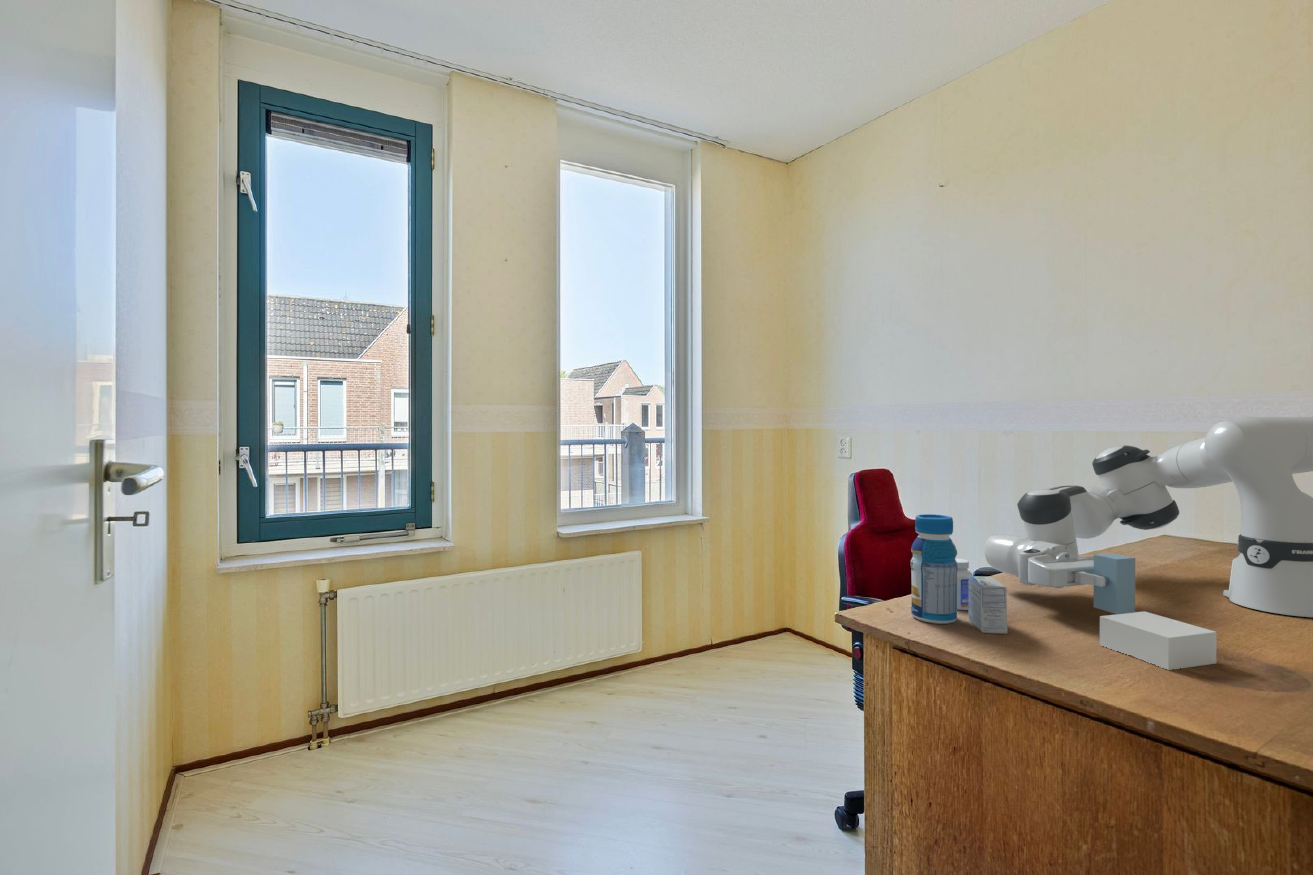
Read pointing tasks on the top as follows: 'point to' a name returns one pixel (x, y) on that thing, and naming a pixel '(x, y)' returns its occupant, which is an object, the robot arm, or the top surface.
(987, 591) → the medicine box
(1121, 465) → the robot arm
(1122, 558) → the block
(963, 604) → the pill bottle
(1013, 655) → the top surface
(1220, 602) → the top surface
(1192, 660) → the block
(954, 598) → the beverage bottle
